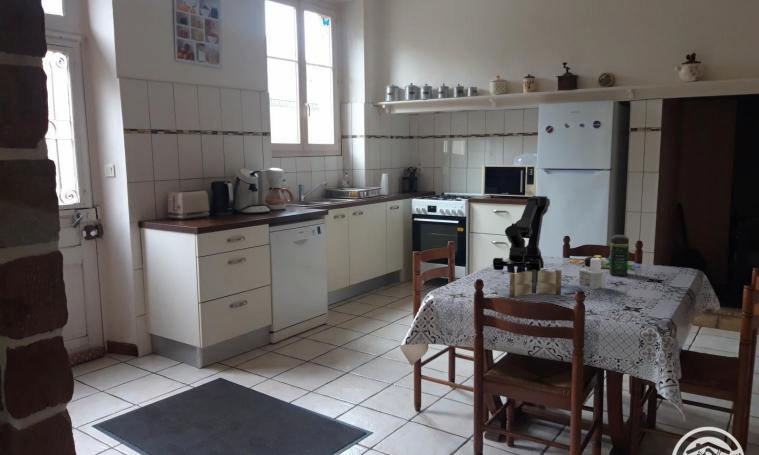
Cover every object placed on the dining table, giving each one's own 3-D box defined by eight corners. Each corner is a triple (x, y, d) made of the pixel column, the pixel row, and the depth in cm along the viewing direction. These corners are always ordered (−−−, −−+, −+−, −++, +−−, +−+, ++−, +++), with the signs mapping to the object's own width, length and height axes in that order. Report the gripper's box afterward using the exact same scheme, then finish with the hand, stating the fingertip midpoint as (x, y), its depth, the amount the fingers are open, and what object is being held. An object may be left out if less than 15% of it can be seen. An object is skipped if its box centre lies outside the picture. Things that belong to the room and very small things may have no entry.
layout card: (493, 290, 246) (493, 288, 246) (553, 288, 247) (553, 286, 247) (501, 298, 231) (501, 297, 231) (565, 297, 232) (565, 295, 232)
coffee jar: (628, 276, 265) (629, 236, 263) (609, 275, 268) (610, 236, 266) (627, 272, 274) (628, 233, 272) (609, 271, 277) (610, 233, 275)
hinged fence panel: (533, 291, 238) (533, 269, 237) (537, 292, 236) (538, 270, 235) (508, 295, 232) (508, 272, 231) (512, 297, 230) (512, 273, 229)
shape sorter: (564, 266, 294) (564, 257, 294) (573, 260, 310) (573, 251, 309) (636, 272, 276) (636, 263, 276) (641, 265, 292) (642, 256, 292)
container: (578, 286, 249) (579, 256, 247) (592, 284, 252) (593, 255, 250) (591, 290, 242) (592, 259, 240) (606, 288, 245) (607, 258, 243)
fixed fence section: (561, 293, 235) (561, 269, 233) (561, 294, 232) (561, 271, 231) (537, 291, 237) (538, 268, 236) (537, 293, 235) (537, 270, 234)
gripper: (493, 238, 239) (489, 270, 230) (540, 239, 233) (538, 272, 224) (495, 253, 247) (492, 285, 239) (540, 254, 241) (539, 287, 233)
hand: (515, 282), depth 233 cm, fingers closed
